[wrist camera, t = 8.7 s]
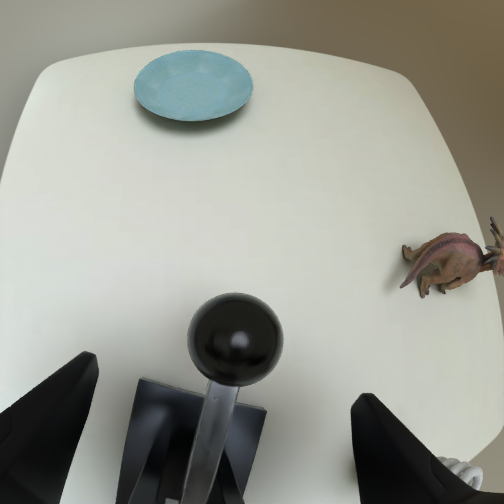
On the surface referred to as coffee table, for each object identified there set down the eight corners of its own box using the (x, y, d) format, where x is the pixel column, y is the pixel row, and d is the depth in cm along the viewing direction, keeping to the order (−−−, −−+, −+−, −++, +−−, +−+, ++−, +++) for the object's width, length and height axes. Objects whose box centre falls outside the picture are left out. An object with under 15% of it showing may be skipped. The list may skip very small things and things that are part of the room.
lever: (201, 287, 13) (201, 274, 9) (279, 308, 13) (306, 303, 10) (146, 522, 9) (136, 562, 6) (214, 536, 10) (219, 577, 6)
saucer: (171, 55, 29) (171, 41, 27) (263, 81, 30) (268, 67, 27) (114, 117, 25) (110, 102, 23) (223, 152, 25) (226, 136, 23)
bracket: (141, 376, 19) (89, 406, 8) (263, 407, 20) (329, 458, 9) (117, 504, 15) (79, 586, 4) (228, 529, 15) (255, 619, 5)
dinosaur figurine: (462, 242, 28) (519, 212, 20) (471, 291, 27) (534, 269, 18) (375, 239, 26) (441, 193, 17) (384, 302, 24) (462, 277, 15)
